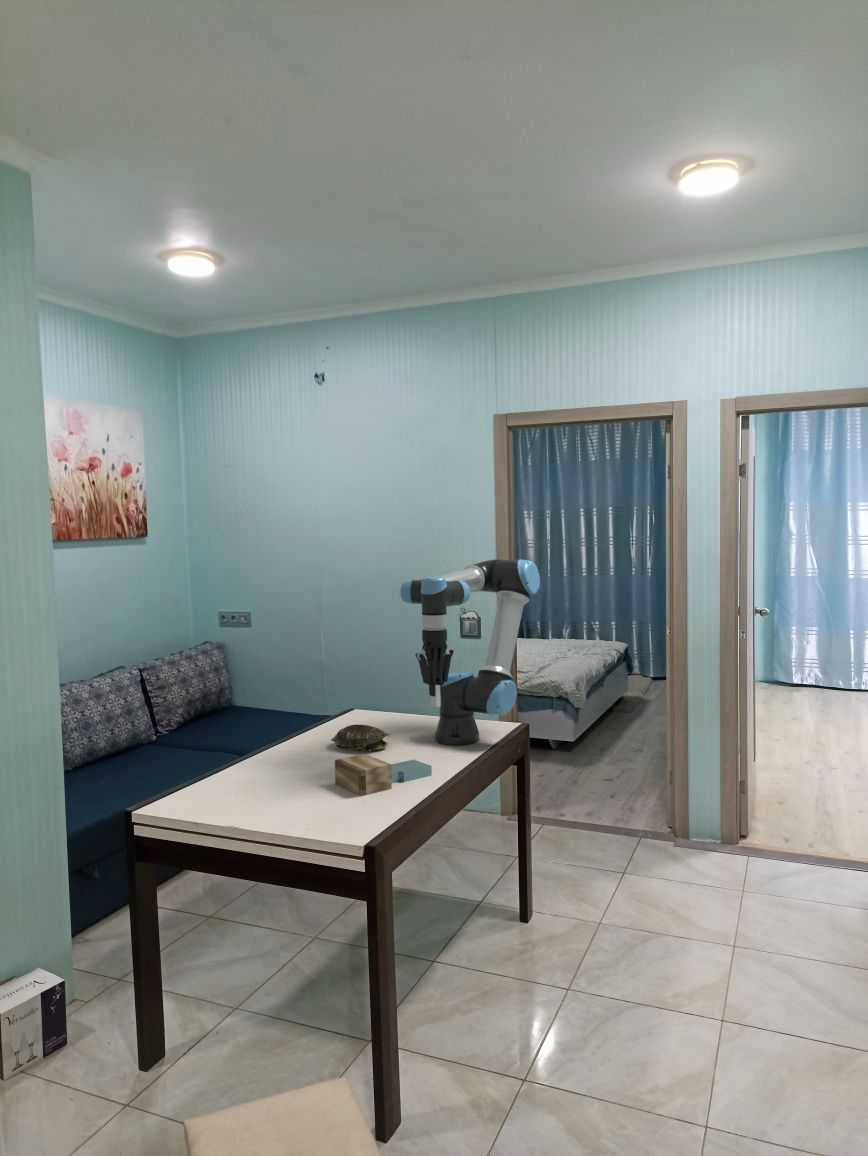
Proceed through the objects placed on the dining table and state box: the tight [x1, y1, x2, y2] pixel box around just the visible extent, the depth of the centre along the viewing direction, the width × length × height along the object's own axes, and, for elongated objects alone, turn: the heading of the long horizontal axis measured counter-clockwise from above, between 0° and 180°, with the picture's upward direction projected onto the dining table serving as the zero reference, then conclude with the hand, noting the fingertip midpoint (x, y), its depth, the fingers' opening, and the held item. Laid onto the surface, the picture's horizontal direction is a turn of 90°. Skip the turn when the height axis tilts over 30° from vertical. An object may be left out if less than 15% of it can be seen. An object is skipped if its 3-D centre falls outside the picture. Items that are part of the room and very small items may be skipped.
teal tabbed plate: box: [390, 759, 433, 784], centre depth 253 cm, size 14×9×3 cm, turn 127°
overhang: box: [334, 753, 393, 797], centre depth 245 cm, size 10×14×7 cm
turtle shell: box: [330, 724, 391, 753], centre depth 287 cm, size 16×9×20 cm
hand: (435, 706), depth 259 cm, fingers closed
